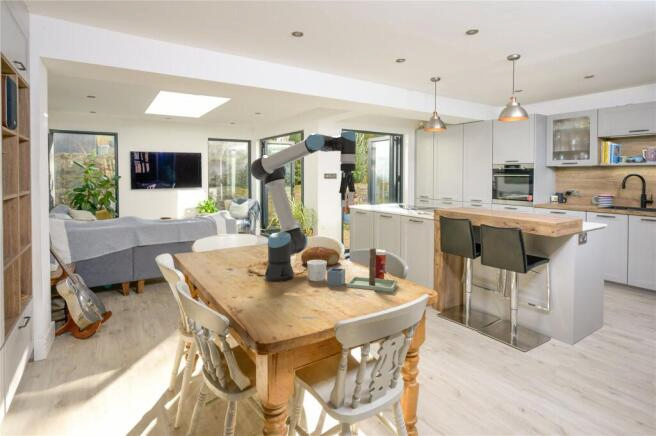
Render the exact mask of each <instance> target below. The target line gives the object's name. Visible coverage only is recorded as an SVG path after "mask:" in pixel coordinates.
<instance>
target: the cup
mask: <svg viewBox="0 0 656 436" xmlns="http://www.w3.org/2000/svg"><path fill="white" fill-rule="evenodd" d="M326 264H327V262H326V261H324V260H310V261H307V265H306V266H307V267H306V268H307V278H308V280H309V281H311V282H312V281H313V282H322V281H324V280H326V276H327V266H326Z"/></svg>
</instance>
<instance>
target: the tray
mask: <svg viewBox="0 0 656 436" xmlns="http://www.w3.org/2000/svg"><path fill="white" fill-rule="evenodd" d="M397 282H398V281H397V280H396V279H387V278H386V279H385V278H384V279H383V278H380V279H378V278H375V286H370V285H369V277H365V276H364V277H363V276H353V277H351V278H350V279H349V280H348V281H347V282H346V283H345V284H346V288H354V289H362V290H363V289H364V290H371V291H372V290H373V292H374V293H375V292H376V293H384V294H393V293H394V291H395V289H396V287H397V285H398V283H397Z"/></svg>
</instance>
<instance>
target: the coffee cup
mask: <svg viewBox="0 0 656 436" xmlns="http://www.w3.org/2000/svg"><path fill="white" fill-rule="evenodd" d="M387 255H388V253H387V251H386V249H385V250H384V249H379V248H378V249H377V248H376V273H375V278H376V279H385V274H386V273H385V270H386V261H387V260H386V259H387Z"/></svg>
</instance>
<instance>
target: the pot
mask: <svg viewBox="0 0 656 436" xmlns="http://www.w3.org/2000/svg"><path fill="white" fill-rule="evenodd" d="M345 284H346V268H341V267H330V268H329V269H328V270H326V286H332V287H342V286H344V285H345Z"/></svg>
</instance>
